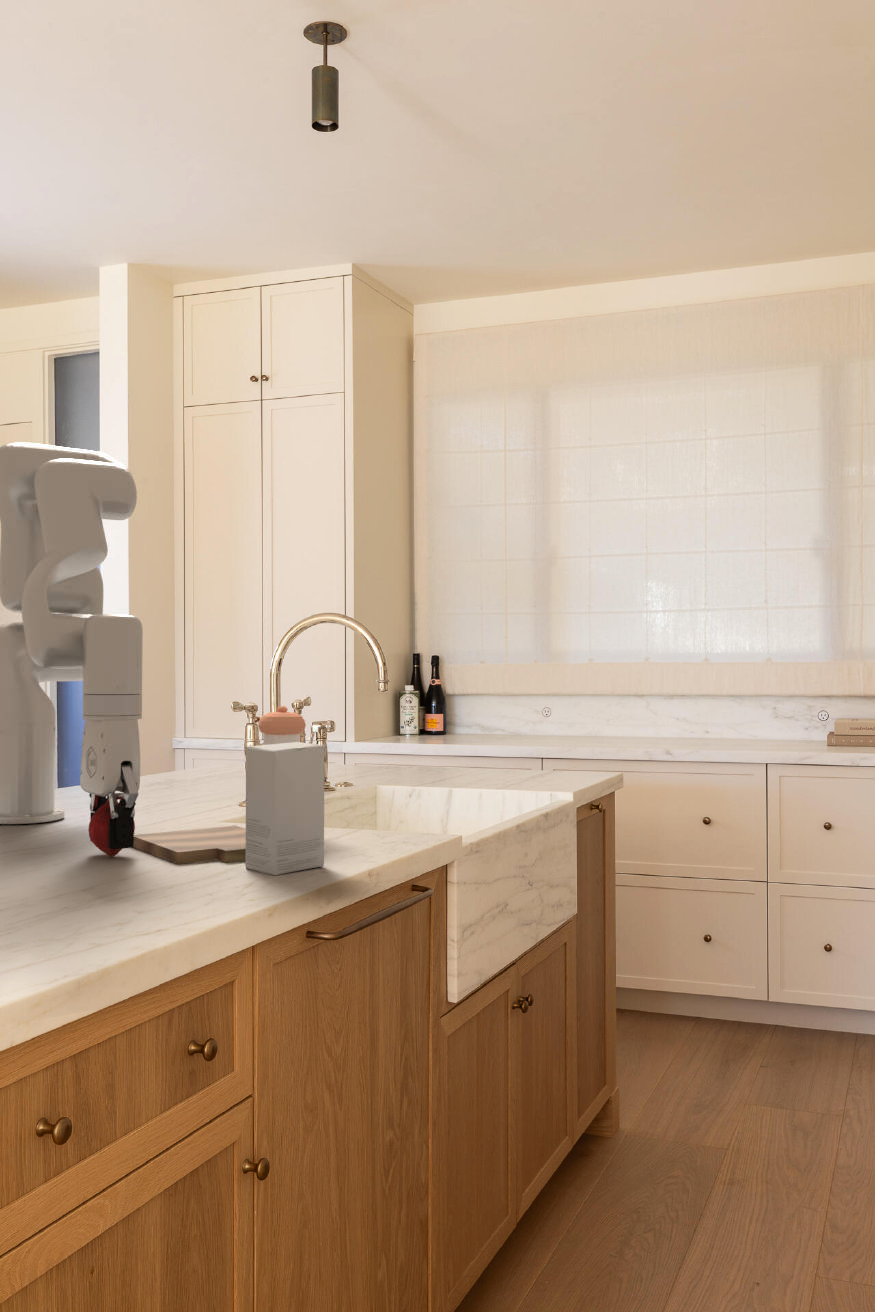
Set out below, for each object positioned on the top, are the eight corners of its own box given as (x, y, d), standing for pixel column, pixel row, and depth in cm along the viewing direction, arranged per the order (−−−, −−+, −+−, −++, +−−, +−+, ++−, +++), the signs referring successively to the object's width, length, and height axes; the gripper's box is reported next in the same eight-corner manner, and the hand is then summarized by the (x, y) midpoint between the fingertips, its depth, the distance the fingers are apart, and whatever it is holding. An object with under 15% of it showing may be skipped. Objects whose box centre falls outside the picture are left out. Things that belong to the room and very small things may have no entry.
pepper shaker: (300, 830, 168) (301, 705, 168) (309, 837, 161) (311, 707, 161) (252, 832, 166) (253, 705, 166) (260, 840, 159) (261, 707, 159)
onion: (121, 861, 141) (121, 799, 141) (80, 859, 143) (80, 797, 143) (142, 853, 147) (142, 793, 147) (102, 852, 148) (102, 792, 148)
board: (130, 846, 153) (130, 835, 153) (235, 835, 162) (235, 825, 162) (185, 867, 138) (185, 855, 138) (296, 854, 148) (297, 843, 148)
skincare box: (295, 860, 143) (297, 741, 143) (327, 868, 139) (329, 744, 139) (242, 869, 137) (243, 744, 138) (273, 876, 133) (274, 748, 133)
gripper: (62, 706, 150) (61, 839, 150) (108, 711, 136) (107, 857, 136) (116, 705, 154) (115, 834, 154) (165, 710, 140) (164, 851, 140)
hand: (111, 843), depth 145 cm, fingers closed on onion, 5 cm apart
